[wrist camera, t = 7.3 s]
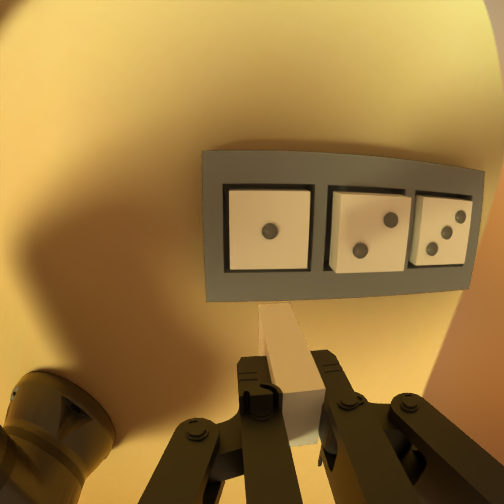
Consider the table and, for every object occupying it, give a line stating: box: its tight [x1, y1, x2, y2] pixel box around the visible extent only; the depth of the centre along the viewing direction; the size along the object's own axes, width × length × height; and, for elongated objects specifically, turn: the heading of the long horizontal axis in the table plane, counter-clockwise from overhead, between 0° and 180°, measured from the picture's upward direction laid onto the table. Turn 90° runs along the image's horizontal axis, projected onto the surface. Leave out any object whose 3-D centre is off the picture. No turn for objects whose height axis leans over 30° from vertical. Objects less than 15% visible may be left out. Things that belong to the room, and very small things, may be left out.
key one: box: [229, 188, 310, 270], centre depth 25 cm, size 6×6×2 cm
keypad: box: [202, 150, 484, 302], centre depth 27 cm, size 26×12×3 cm, turn 90°
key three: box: [408, 194, 473, 265], centre depth 26 cm, size 6×6×2 cm
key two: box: [329, 191, 411, 273], centre depth 24 cm, size 6×6×2 cm
